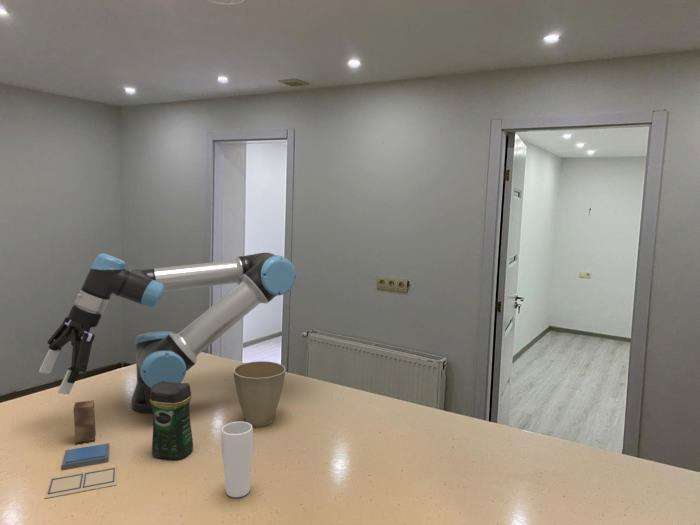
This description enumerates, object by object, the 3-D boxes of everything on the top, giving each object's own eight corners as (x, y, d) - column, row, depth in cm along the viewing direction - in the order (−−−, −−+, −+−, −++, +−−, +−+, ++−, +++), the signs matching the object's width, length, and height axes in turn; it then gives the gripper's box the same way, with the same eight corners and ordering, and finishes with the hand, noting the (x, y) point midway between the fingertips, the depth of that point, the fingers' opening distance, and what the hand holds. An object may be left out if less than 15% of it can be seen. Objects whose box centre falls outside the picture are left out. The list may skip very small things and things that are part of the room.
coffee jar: (198, 447, 133) (196, 379, 130) (181, 462, 125) (179, 390, 123) (165, 443, 135) (163, 375, 133) (146, 457, 127) (144, 386, 125)
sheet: (117, 466, 123) (116, 464, 123) (116, 485, 115) (116, 483, 115) (50, 478, 117) (50, 476, 117) (44, 499, 109) (44, 497, 109)
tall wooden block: (95, 435, 139) (93, 400, 138) (94, 442, 135) (92, 406, 134) (77, 437, 137) (75, 402, 136) (75, 445, 133) (73, 408, 132)
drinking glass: (225, 484, 116) (223, 421, 114) (255, 483, 116) (254, 420, 115) (220, 501, 109) (218, 435, 107) (251, 500, 110) (251, 434, 108)
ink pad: (109, 447, 132) (109, 442, 132) (108, 462, 125) (108, 456, 125) (65, 454, 128) (65, 449, 128) (62, 470, 121) (61, 464, 121)
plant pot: (240, 436, 139) (239, 380, 137) (229, 415, 153) (228, 364, 151) (292, 427, 145) (292, 373, 143) (277, 408, 159) (277, 358, 157)
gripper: (57, 291, 142) (22, 362, 140) (94, 321, 126) (56, 401, 124) (82, 298, 148) (50, 366, 146) (121, 327, 132) (86, 404, 130)
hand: (53, 382), depth 135 cm, fingers open, 13 cm apart
